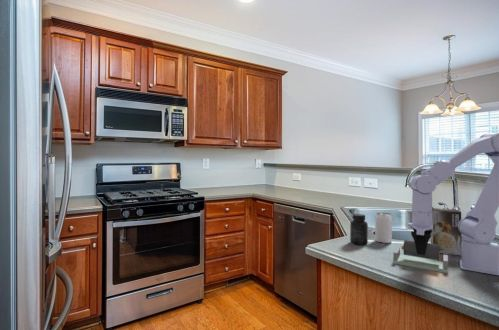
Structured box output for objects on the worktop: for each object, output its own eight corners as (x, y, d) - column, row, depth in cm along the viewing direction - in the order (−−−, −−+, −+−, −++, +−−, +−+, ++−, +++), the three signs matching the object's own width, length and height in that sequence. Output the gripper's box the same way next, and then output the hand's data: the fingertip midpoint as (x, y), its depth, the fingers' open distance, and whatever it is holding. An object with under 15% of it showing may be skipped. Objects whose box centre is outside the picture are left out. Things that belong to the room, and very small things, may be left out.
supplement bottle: (354, 240, 125) (354, 212, 125) (370, 243, 120) (370, 214, 120) (347, 243, 120) (347, 214, 120) (363, 246, 116) (363, 217, 115)
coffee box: (458, 251, 110) (458, 209, 110) (462, 256, 104) (462, 212, 104) (430, 247, 114) (430, 207, 114) (432, 252, 108) (432, 210, 108)
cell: (439, 257, 95) (439, 242, 95) (439, 262, 91) (439, 247, 91) (402, 251, 101) (402, 237, 101) (400, 256, 97) (400, 241, 97)
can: (372, 241, 123) (372, 213, 123) (378, 238, 128) (378, 211, 128) (388, 244, 119) (388, 215, 119) (394, 241, 123) (394, 213, 123)
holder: (447, 265, 95) (447, 254, 95) (447, 273, 88) (447, 261, 88) (396, 256, 103) (396, 247, 103) (393, 263, 97) (393, 253, 97)
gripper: (410, 207, 104) (410, 244, 104) (405, 213, 92) (405, 255, 92) (433, 209, 100) (433, 248, 100) (432, 215, 88) (431, 260, 88)
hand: (421, 252), depth 96 cm, fingers closed on cell, 5 cm apart
